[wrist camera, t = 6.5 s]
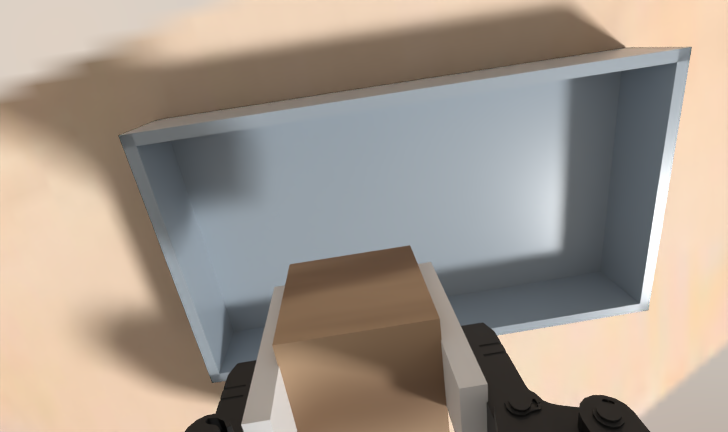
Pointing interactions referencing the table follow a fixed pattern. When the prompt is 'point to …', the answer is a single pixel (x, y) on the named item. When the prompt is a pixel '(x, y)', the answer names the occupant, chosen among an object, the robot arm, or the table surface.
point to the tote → (425, 191)
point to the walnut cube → (361, 345)
